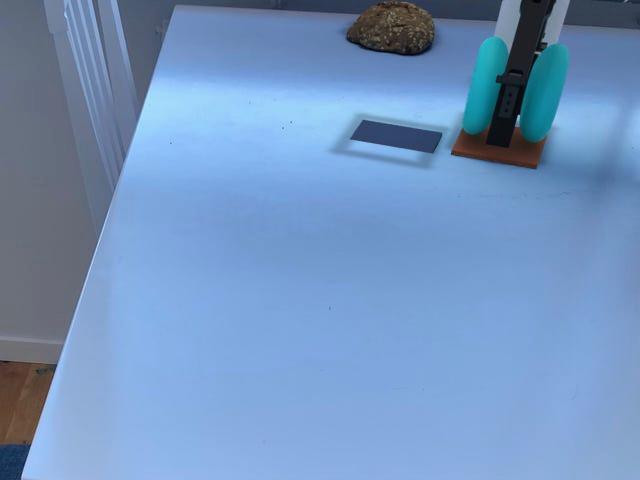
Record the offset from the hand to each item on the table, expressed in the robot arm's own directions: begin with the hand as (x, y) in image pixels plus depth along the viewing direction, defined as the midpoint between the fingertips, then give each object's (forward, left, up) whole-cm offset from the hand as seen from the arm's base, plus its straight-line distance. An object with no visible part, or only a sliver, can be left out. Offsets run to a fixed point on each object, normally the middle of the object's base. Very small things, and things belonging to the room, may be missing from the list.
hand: (504, 128), depth 113 cm
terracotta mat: (0, 0, -2) cm, 2 cm away
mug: (+1, -17, -2) cm, 18 cm away
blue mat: (+12, +7, -2) cm, 14 cm away
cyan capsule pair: (0, 0, -1) cm, 1 cm away
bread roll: (+21, -33, -2) cm, 40 cm away
